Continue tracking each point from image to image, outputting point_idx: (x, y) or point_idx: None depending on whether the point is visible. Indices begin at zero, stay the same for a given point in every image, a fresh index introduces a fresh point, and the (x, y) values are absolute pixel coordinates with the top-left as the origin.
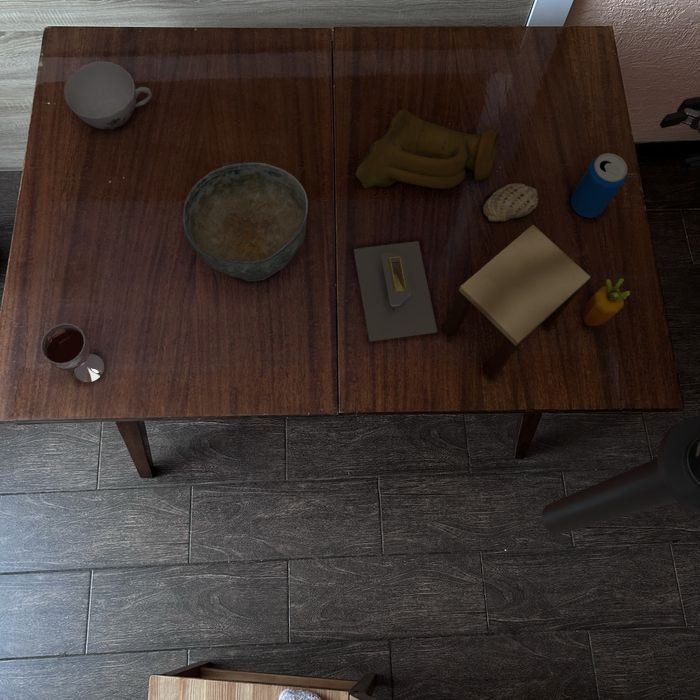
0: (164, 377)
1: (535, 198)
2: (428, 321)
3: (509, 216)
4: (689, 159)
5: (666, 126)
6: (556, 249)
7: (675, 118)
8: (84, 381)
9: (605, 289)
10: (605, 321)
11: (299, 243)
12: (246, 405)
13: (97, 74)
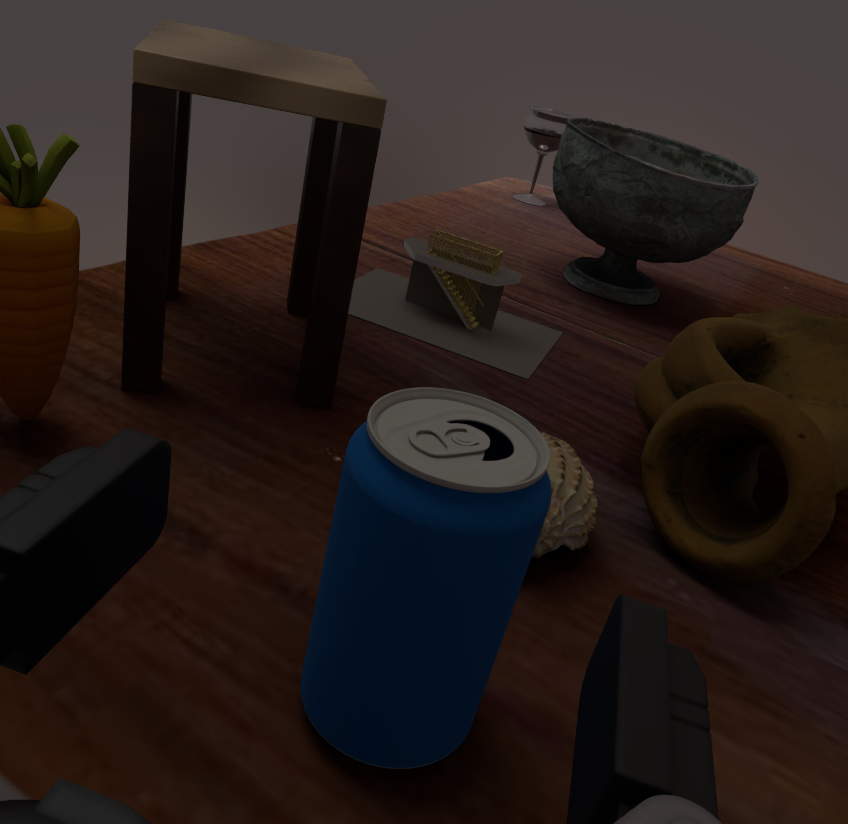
0: (480, 206)
1: None
2: None
3: None
4: (140, 444)
5: (582, 711)
6: (278, 76)
7: (620, 657)
8: (515, 194)
9: (56, 211)
10: None
11: (583, 166)
12: (393, 206)
13: None
